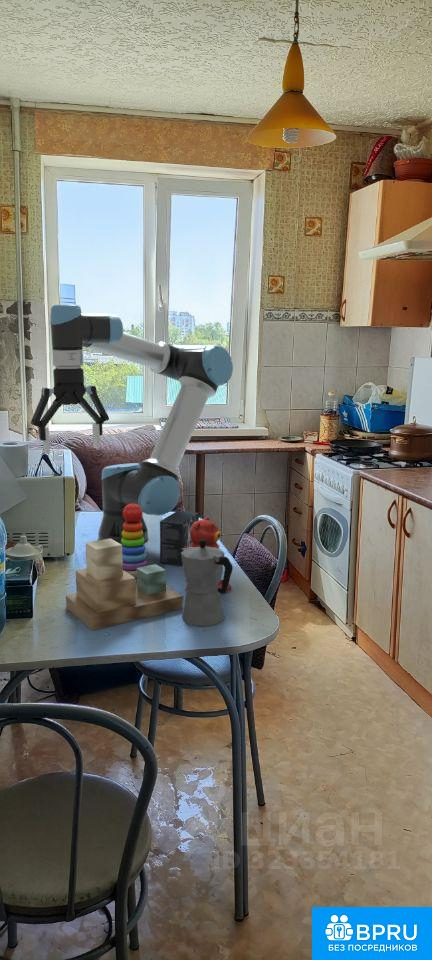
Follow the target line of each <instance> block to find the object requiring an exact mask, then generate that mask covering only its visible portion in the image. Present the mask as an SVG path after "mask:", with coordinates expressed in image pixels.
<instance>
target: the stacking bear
mask: <svg viewBox="0 0 432 960" xmlns="http://www.w3.org/2000/svg"><path fill="white" fill-rule="evenodd" d="M190 537H191V540H192V543H191V544H190V545H189V547H200V544H199V540H200V539H205V540H206V545H205V547H213V548H219V549H220V545H219V544H218V543H217V542H218V541H219V539H220V537H221V531H220V529H219V528H218V526H217V524H215V523H214V522H213V521H212V520H210V518H209V517H205V518H204V519H199V521H196V522H194V523H193V524H192V526H191V528H190ZM220 550H221V549H220ZM223 573H224V566H223V567H222V574H221V578H222V576H223ZM222 581H223V579H221V580H220V582H219V583H218V588H220V589H221V588H222ZM184 590H185V592H186V591H187V590H188V584H187V583H186V585H185V589H184ZM231 590H232V585H231V583H230V582H229V584H228V587H227V590H226V593H227V592H229V591H231Z"/></svg>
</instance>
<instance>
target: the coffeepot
mask: <svg viewBox="0 0 432 960" xmlns="http://www.w3.org/2000/svg"><path fill="white" fill-rule="evenodd" d="M199 544H200V547H185V548H181V549H182V550H183V552H181V558H182V563H183V565H182V569H183V574H184V579H185V582H186V585H187V584H188V590H187V591H185V597H184V601H183V608H182V619H183V621H184V622H185V623H186V624H188V625H190V626H194V627H211V626H216V625H219V624H220V623H221V622H223V620H224V618H225V612H224V611H225V610H224V607H223V606H224V605H223V601H222V594H223V595H225V594H227V592H226V590H227V587H228V584H229V583H230V579H231V577H232V573H233V568H234V567H233V565H232V562H231V561H230V558H228V557H227V556H225V552H224V551H223V550H222V549H219V548H220V547H219V548H213V547H205V545H206V540H205V539H200V540H199ZM222 567H223V568H224V570H223V572H222ZM221 574H222V575H223V578H222V577H221ZM220 580H223V581H222V588H221V589H220V588H218V583H219V582H220Z"/></svg>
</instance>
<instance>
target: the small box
mask: <svg viewBox="0 0 432 960" xmlns="http://www.w3.org/2000/svg"><path fill="white" fill-rule="evenodd" d="M199 514H200V513H199V512H193V511H181V510H176V511H175V512H173V513H171V514H170V515H168V516H167V517H166V516H165V518H163V519H161V520H160V521H159V563H160V564H165V565H173V566H181V567H183V563H182V558H181V552H183V550H182V549H181V548H185V547H189V545H190V544H191V543H192V540H191V537H190V528H191V526H192V524H193V523H194V522H196V521H199V520H200V519H199V518H200V515H199Z"/></svg>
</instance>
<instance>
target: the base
mask: <svg viewBox="0 0 432 960" xmlns="http://www.w3.org/2000/svg"><path fill="white" fill-rule="evenodd" d="M75 587H76V588H75V592H76V593H69V594H66V595H65V604H66V609H67V611H70V612H71V614H73V615H74V616H75V617H76V618H77V619H79V620H80V621H81V622H82V623H83V624H85V626H86V627H88V628H89V629H90V630H91V631H96V630H101V629H105V628H109V627H113V626H117V625H120V624H125V623H129V622H132V621H133V622H134V621H137V619H138V620H140V619H141V618H142V619H146V618H150V617H153V616H157V615H161V614H166V613H170V612H174V611H178V610H181V609H182V610H183V609H184V595H182V594H181V593H179V592H177V591H176V590H174V589H173V588H171V587H169V586H168V585H167V570H166V569H165V568H163V567H161V566H159V565H158V564H156V563H155V564H151V565H150V564H149V565H146V566H144V567H139V568H137V578H135V577H133V576H131V575H130V574H128V573H127V572H125V571H123V576H118V577H113V578H108V579H103V580H98V581H97V580H96V579H95V578H93V577H92V576H90V575H89V574H88V573H87V567H85V568H80V569H77V570H75ZM142 619H141V620H142ZM128 621H129V622H128Z"/></svg>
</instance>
